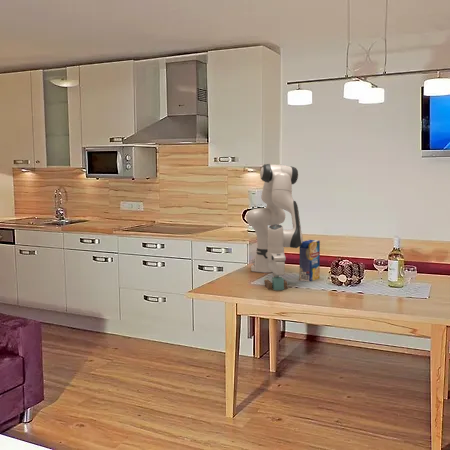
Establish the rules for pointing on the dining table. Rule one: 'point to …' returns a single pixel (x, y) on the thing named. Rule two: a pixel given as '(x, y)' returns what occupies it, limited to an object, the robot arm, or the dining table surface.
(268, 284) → the chute
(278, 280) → the block
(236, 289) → the dining table surface
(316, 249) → the beverage box
